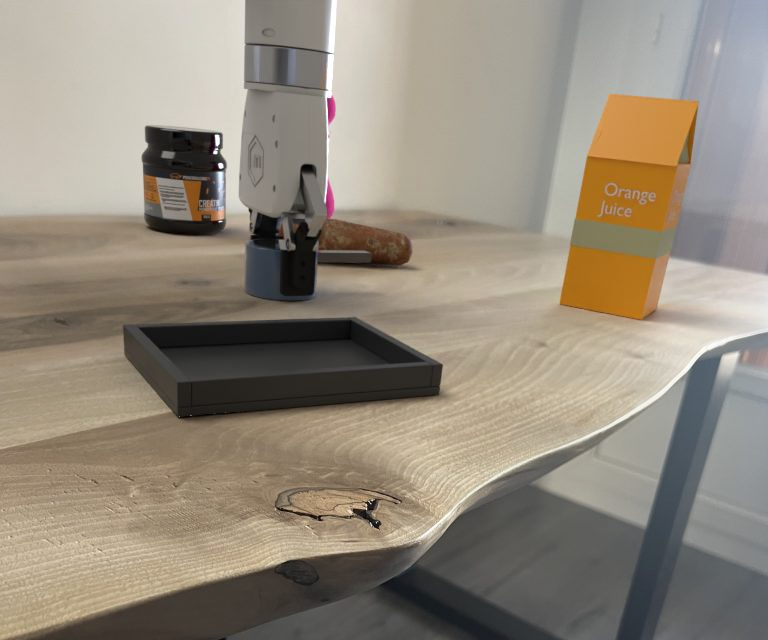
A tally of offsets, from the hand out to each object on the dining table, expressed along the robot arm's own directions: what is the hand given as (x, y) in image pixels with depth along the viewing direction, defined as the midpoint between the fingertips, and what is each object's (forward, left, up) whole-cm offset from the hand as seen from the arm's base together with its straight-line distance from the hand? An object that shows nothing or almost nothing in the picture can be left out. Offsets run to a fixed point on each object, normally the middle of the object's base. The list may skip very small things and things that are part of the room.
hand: (280, 284), depth 78 cm
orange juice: (+34, -9, -1) cm, 35 cm away
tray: (-10, -24, -1) cm, 26 cm away
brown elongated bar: (+13, +16, -1) cm, 21 cm away
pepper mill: (+16, +30, -1) cm, 34 cm away
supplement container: (+2, +37, -1) cm, 37 cm away
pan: (+3, 0, -1) cm, 3 cm away
